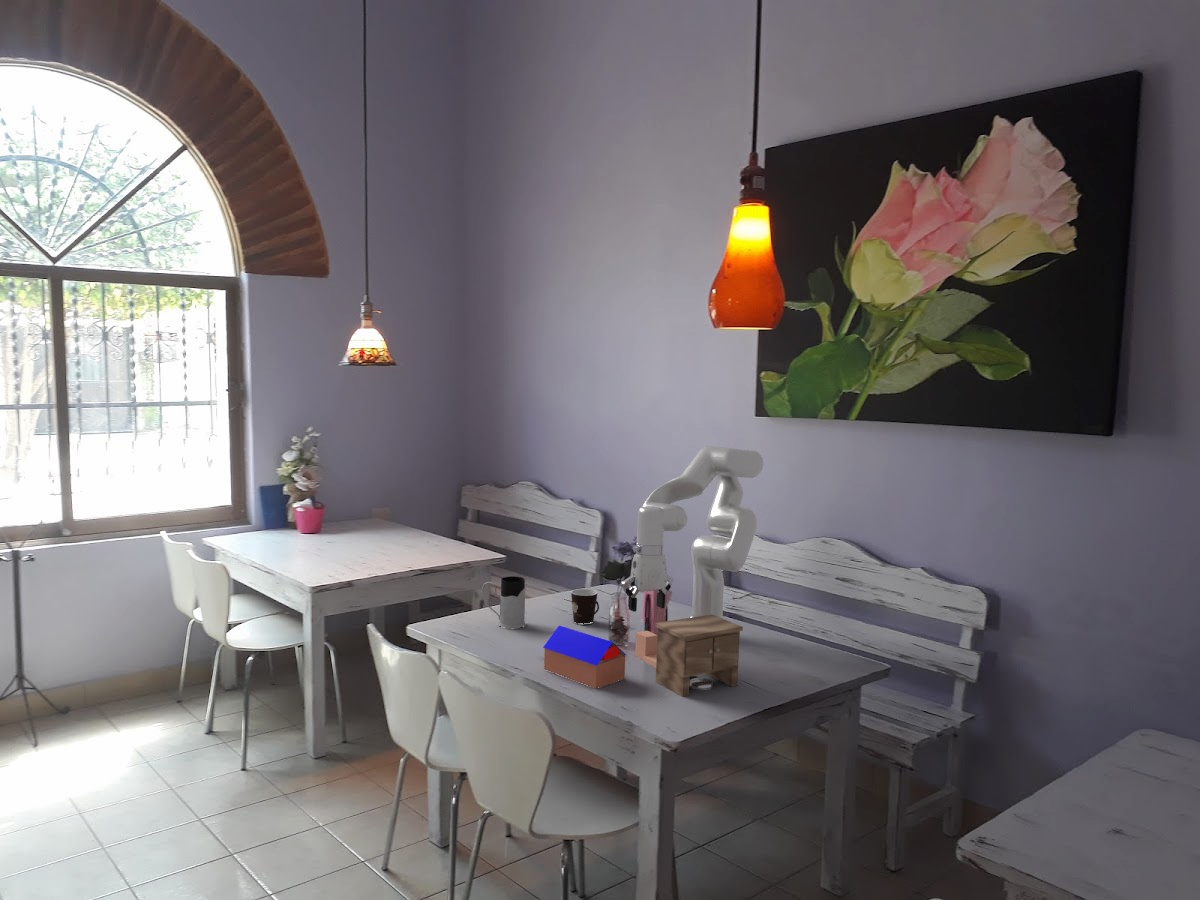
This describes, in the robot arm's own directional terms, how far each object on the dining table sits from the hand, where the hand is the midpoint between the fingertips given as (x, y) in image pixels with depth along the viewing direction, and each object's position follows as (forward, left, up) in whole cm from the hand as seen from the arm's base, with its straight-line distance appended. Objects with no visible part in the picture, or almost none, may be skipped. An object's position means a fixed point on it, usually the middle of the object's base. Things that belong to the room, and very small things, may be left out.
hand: (646, 608), depth 259 cm
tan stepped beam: (+8, 0, -14) cm, 17 cm away
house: (+4, -23, -15) cm, 28 cm away
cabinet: (+24, 0, -14) cm, 28 cm away
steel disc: (+26, 0, -15) cm, 30 cm away
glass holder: (-47, -23, -15) cm, 54 cm away
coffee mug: (-37, +1, -15) cm, 40 cm away
